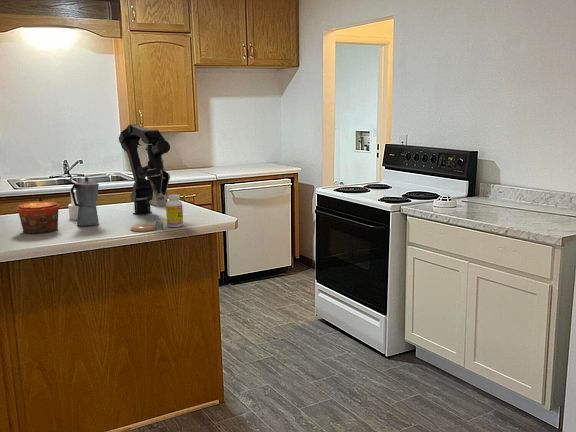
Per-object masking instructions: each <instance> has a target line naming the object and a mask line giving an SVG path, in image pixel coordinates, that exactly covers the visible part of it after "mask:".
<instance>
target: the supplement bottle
mask: <svg viewBox="0 0 576 432" xmlns="http://www.w3.org/2000/svg"><path fill="white" fill-rule="evenodd" d="M167 199H168V202H167V203H166V205H165V211H166V215H165V216H166V226H167V227H169V228H179V227H182V226H183V225H184V212H183V210H184V209H183V202H182V201H181V200H180V194H169V195H168V194H167Z"/></svg>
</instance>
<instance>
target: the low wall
mask: <svg viewBox="0 0 576 432" xmlns="http://www.w3.org/2000/svg"><path fill="white" fill-rule="evenodd" d="M155 225H156V228H159V229H160V230H161V231H163V230H164V223H163V222H162V221H161V220H159V219H156V218H155Z"/></svg>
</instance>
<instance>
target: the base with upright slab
mask: <svg viewBox="0 0 576 432" xmlns="http://www.w3.org/2000/svg"><path fill="white" fill-rule="evenodd" d="M74 193H75V199H76V202H77V204H78V201H77V196H76V190H75V189H74ZM78 208H79V206H75V204H74V200H73V197H72V193H71V189H70V203H69V204H68V216H69V217H68V218H69V219H70V220H77V217H78Z"/></svg>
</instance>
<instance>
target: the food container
mask: <svg viewBox="0 0 576 432" xmlns="http://www.w3.org/2000/svg"><path fill="white" fill-rule="evenodd" d="M60 206H61V205H60V204H59V203H58V202H56V201H35V202H32V201H31V202H25V203H22V204H19V205H18V206H17V207H16V209H15V210H16V211H17V212H18V216H19V221H20V224H21V227H22V232H23V233H25V234H29V235H39V234H47V233H52V232H55V231H57V230H58V229H59V208H61V207H60Z"/></svg>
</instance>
